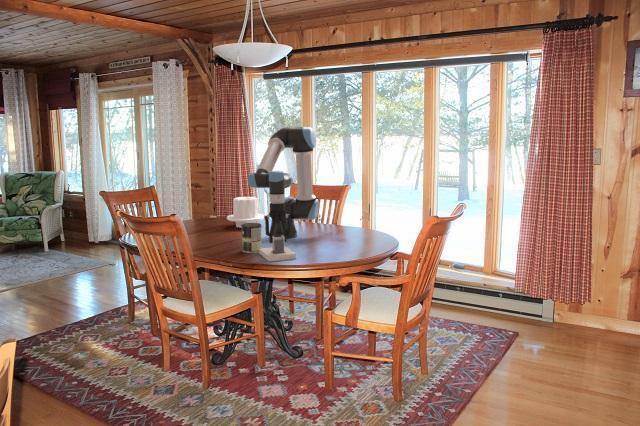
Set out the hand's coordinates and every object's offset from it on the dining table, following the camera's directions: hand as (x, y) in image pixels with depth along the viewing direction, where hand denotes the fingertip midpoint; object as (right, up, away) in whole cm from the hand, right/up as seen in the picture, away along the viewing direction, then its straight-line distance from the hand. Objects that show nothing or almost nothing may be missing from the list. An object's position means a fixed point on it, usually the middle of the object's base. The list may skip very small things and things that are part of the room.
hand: (278, 248), depth 260 cm
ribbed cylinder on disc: (-27, +9, +82) cm, 87 cm away
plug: (0, -2, 0) cm, 2 cm away
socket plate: (-1, -4, +3) cm, 5 cm away
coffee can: (-15, -2, +14) cm, 21 cm away
